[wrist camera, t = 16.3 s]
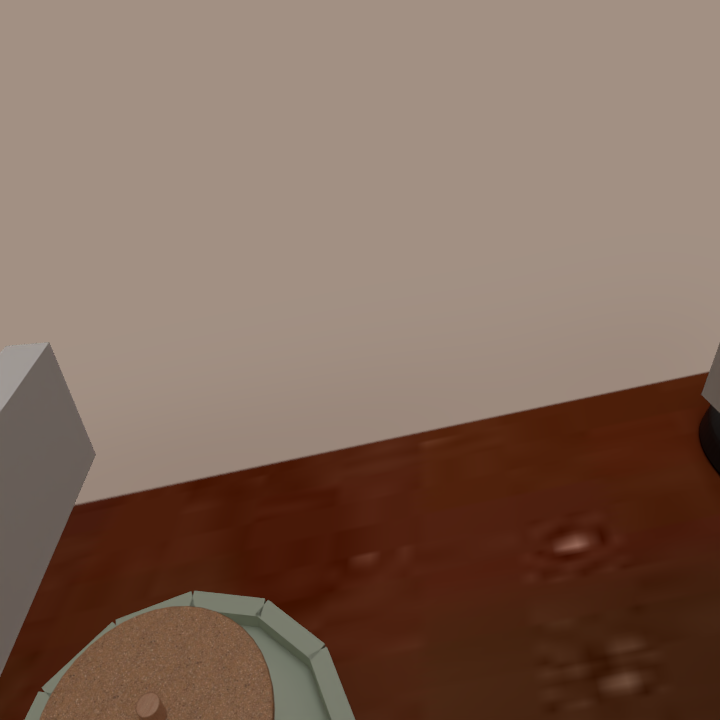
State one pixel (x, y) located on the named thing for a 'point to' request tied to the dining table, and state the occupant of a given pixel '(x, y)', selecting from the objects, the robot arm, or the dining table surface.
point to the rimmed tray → (280, 650)
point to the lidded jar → (167, 672)
